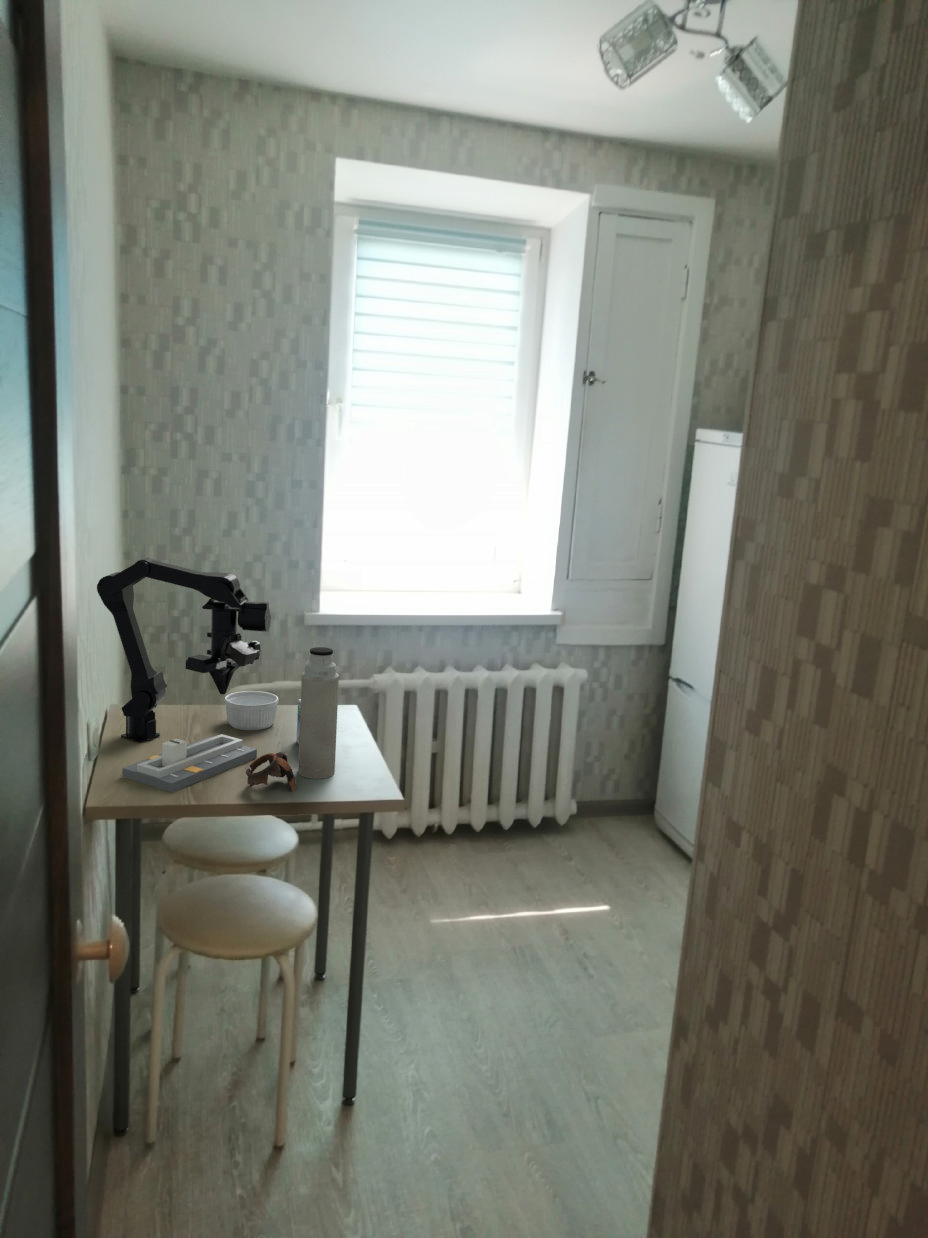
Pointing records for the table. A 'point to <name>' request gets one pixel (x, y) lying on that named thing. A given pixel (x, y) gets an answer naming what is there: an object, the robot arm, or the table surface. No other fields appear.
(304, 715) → the thermos bottle
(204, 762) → the console
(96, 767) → the table surface
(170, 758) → the fader knob
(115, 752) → the table surface
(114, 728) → the table surface
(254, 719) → the ramekin
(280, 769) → the brown curved looped piece
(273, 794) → the table surface
